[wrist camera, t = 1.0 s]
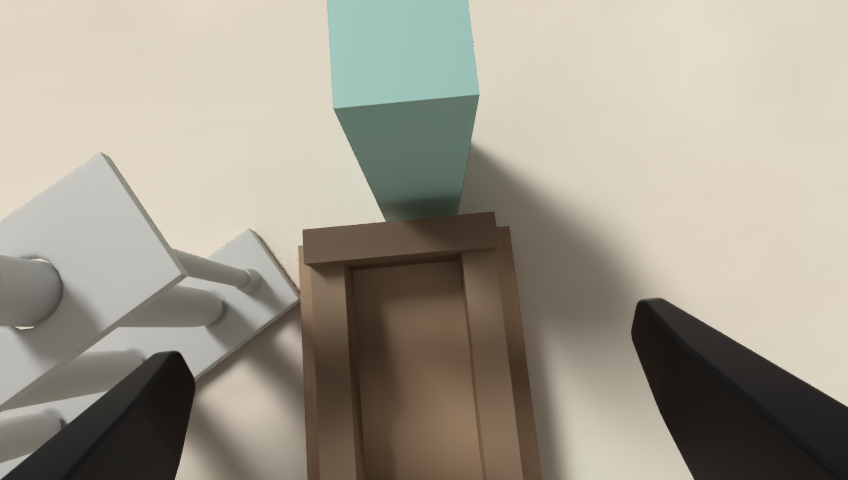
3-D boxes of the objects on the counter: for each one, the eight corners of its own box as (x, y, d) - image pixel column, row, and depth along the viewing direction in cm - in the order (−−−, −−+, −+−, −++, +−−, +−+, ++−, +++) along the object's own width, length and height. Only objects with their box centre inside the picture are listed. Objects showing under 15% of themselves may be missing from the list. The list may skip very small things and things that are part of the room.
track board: (538, 492, 21) (565, 534, 17) (316, 512, 21) (285, 559, 17) (505, 231, 23) (521, 209, 19) (305, 250, 23) (275, 232, 19)
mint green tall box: (456, 217, 23) (479, 94, 11) (387, 224, 23) (333, 108, 11) (445, 110, 24) (454, -110, 12) (378, 116, 24) (321, -96, 12)
